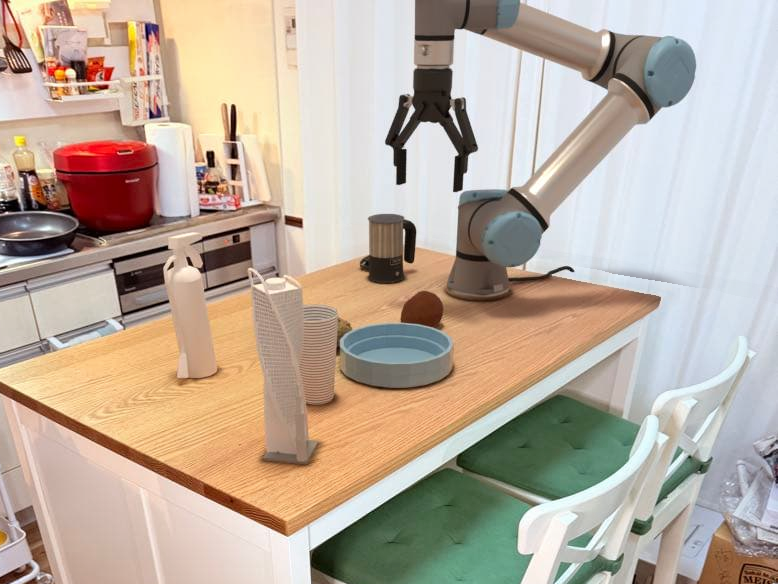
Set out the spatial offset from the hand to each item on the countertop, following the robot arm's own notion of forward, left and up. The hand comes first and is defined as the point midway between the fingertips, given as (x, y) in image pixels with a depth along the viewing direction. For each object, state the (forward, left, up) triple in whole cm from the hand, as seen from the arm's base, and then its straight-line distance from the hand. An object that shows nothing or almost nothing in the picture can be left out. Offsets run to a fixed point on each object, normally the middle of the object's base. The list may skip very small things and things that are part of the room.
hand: (428, 187), depth 159 cm
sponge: (+29, -11, -27) cm, 41 cm away
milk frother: (-21, -26, -27) cm, 43 cm away
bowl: (+29, +11, -27) cm, 41 cm away
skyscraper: (+67, +15, -27) cm, 74 cm away
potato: (+8, +4, -27) cm, 28 cm away
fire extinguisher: (+53, -19, -27) cm, 62 cm away
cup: (+49, +7, -27) cm, 56 cm away
